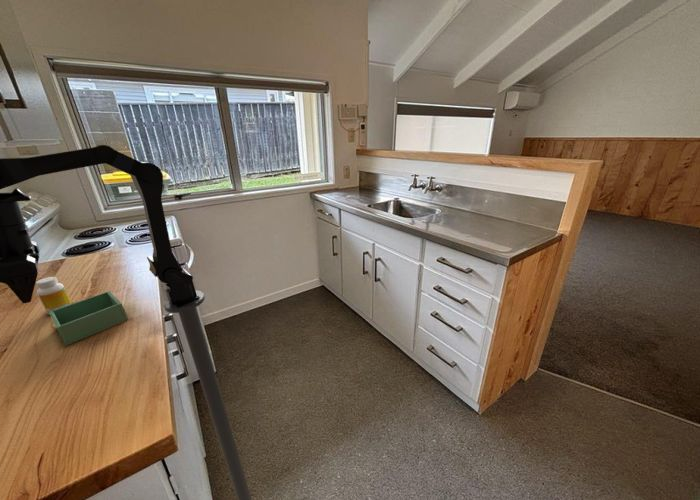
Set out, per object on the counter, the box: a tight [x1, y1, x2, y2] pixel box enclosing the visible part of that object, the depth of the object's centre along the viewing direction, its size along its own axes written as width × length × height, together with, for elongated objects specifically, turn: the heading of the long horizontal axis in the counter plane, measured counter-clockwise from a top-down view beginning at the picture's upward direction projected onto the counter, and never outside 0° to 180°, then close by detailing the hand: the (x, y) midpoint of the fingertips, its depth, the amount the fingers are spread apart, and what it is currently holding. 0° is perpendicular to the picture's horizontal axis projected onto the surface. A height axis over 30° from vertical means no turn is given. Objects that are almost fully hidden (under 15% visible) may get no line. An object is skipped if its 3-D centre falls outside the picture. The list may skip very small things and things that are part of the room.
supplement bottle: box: [35, 276, 73, 315], centre depth 79 cm, size 5×5×10 cm
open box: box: [49, 290, 129, 346], centre depth 73 cm, size 12×11×5 cm
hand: (27, 294), depth 61 cm, fingers open, 9 cm apart
